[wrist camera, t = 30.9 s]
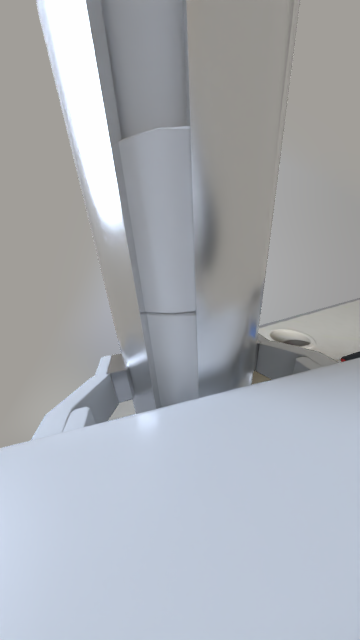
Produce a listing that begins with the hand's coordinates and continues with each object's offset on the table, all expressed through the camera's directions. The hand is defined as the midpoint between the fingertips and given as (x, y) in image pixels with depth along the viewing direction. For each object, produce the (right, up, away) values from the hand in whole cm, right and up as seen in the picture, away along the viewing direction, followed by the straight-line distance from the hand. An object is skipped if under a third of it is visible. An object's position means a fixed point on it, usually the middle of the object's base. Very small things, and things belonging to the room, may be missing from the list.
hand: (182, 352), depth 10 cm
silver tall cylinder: (+1, -12, +4) cm, 13 cm away
